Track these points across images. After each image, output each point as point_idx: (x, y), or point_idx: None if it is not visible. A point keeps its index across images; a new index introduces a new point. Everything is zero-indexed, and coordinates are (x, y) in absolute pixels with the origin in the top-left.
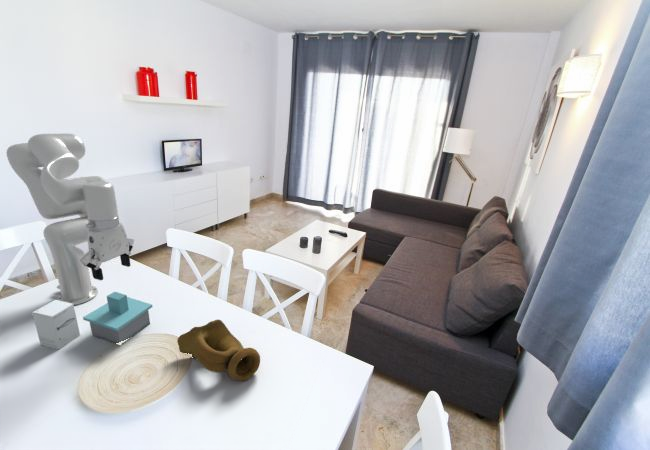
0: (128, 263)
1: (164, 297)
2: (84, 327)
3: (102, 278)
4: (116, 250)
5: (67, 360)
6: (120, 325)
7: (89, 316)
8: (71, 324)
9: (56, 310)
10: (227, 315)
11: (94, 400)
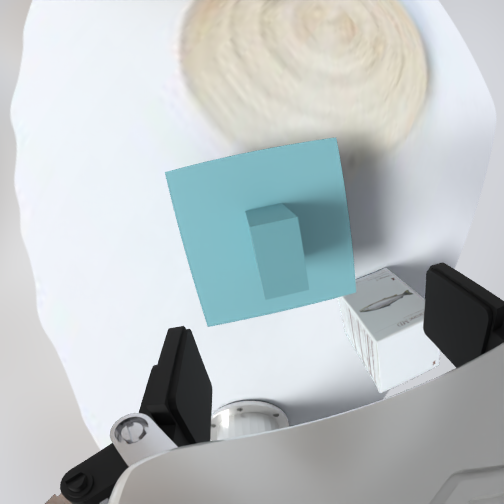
0: (180, 346)
1: (90, 271)
2: (311, 308)
3: (441, 266)
4: (454, 493)
5: (396, 214)
6: (319, 142)
7: (344, 281)
8: (368, 300)
9: (420, 334)
10: (44, 48)
11: (415, 56)
